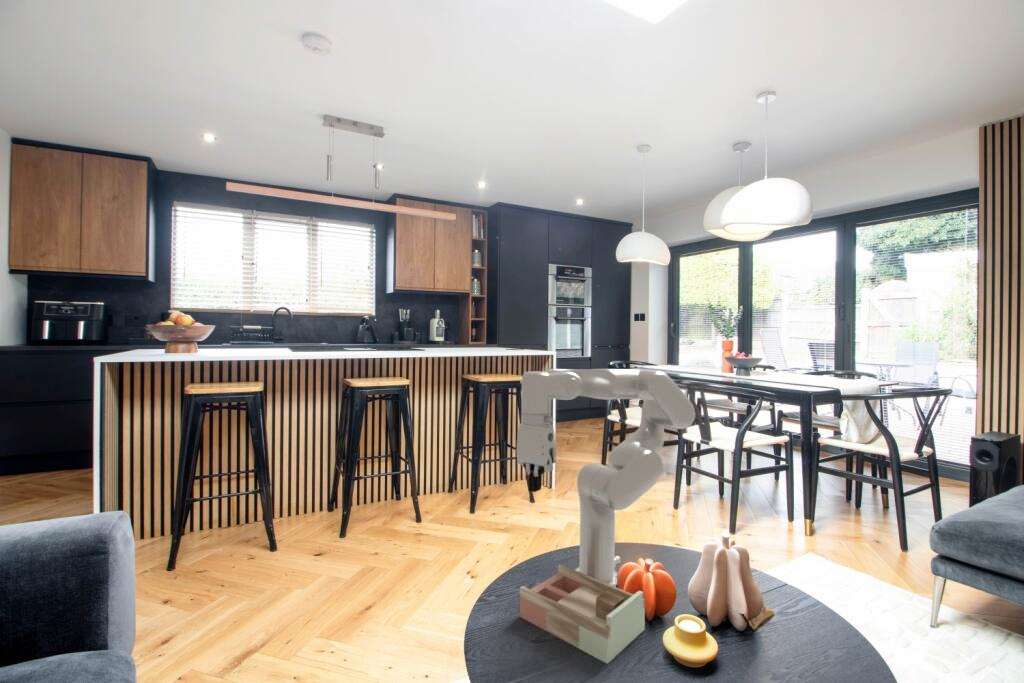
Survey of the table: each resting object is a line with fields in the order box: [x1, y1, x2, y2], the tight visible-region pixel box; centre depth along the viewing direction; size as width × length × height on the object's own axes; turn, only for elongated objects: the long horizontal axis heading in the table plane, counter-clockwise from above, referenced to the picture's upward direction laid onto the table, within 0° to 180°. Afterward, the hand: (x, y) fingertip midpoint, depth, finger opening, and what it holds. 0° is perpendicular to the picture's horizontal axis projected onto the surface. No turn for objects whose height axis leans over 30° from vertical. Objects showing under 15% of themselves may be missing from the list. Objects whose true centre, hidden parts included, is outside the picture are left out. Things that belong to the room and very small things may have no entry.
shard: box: [748, 604, 775, 630], centre depth 116 cm, size 11×8×2 cm
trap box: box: [519, 564, 646, 665], centre depth 112 cm, size 16×24×9 cm, turn 47°
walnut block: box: [596, 591, 625, 621], centre depth 106 cm, size 4×4×4 cm
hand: (534, 490), depth 124 cm, fingers closed
